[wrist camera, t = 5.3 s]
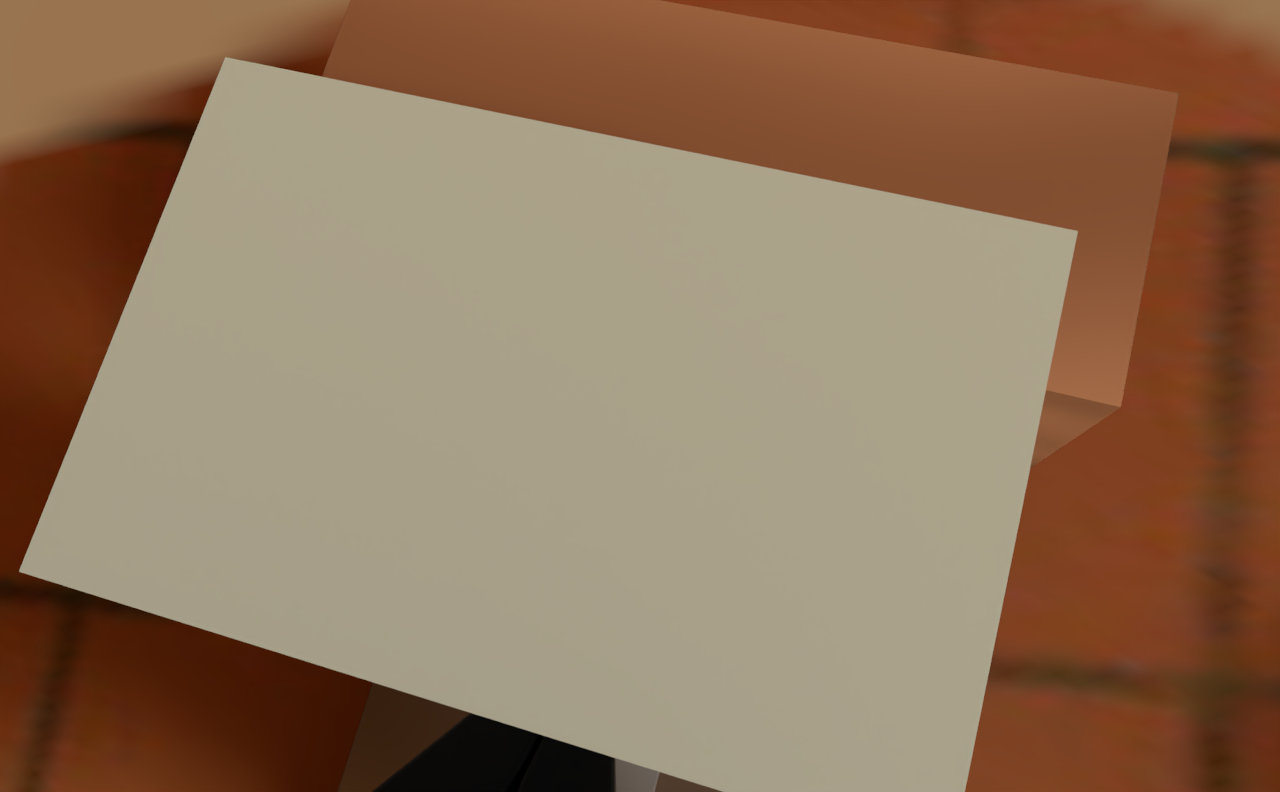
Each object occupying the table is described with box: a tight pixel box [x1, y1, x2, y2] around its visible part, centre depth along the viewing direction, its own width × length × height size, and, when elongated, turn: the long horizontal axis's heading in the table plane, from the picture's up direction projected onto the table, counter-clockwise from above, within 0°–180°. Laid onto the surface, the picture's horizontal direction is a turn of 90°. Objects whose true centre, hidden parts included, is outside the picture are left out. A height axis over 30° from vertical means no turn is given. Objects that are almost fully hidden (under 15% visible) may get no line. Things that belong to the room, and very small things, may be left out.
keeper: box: [19, 57, 1078, 792], centre depth 10 cm, size 4×6×9 cm, turn 74°
